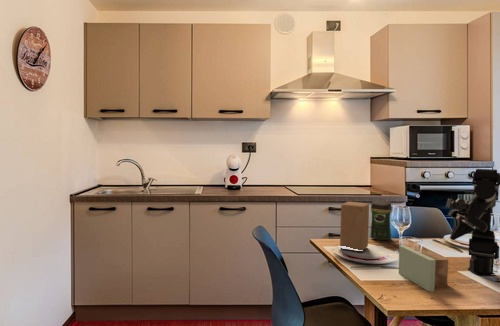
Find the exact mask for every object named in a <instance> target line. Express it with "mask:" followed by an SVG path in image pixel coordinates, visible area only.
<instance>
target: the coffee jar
mask: <svg viewBox="0 0 500 326" xmlns="http://www.w3.org/2000/svg"><path fill="white" fill-rule="evenodd" d="M370 211H371V223H370V230H369V231H370V232H369V233H370V234H369V237H370V238H371V239H372V240H377V241H390V240H391V238H392V230H391V215H392V214H391V213H392V211H393V210H392V203H391V202H390V201H383V200H372V202H371V204H370Z"/></svg>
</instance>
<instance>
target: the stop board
mask: <svg viewBox="0 0 500 326" xmlns="http://www.w3.org/2000/svg"><path fill="white" fill-rule="evenodd" d="M398 250H399V251H398V253H399V254H398V255H399V256H398V274H399V275H401V276H403V277H404V278H406V279H407V280H409V281H411V282H412V283H414V284H416V285H417V286H419V287H420V288H422V289H424V290H425V291H426V292H435V286H436V285H435V263H436V260H435V259H433V258H430V257H428V256H426V255H424V254H422V253H423V252H419V251H417V250H415V249H413V248H411V247H409V246H407V245H402V244H401V245H399V248H398Z"/></svg>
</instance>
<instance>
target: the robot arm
mask: <svg viewBox="0 0 500 326" xmlns="http://www.w3.org/2000/svg"><path fill="white" fill-rule="evenodd" d="M471 185H472V186H473V190H472V191H473V192H472V193H473V194H472V195H473V196H472V197H471V199H470V200H469V199H467V200H465V199H463V198H460V197H459V198H458V197H457V199H452V198H447V201H446V204H445V208H448V209H450V210H449V212H448V213H447V214H448V215H449V216H450V217H451V218H452V220H453V222H454V225H453V227H452V231H451V234H450V237H449V239H450V240H452V241H454V240H456V239H459V238H462V237H463V236H466V235H467V234H469V233H471V238H469V239H468V256H470V258H469V267H467V270H468V271H469V272H472V273H474V275H477V276H492V275H491V274H496V273H495V272H494V260H497V259H499V258H500V246H499V244H498V241H496V235H495V232H494V230H491V217H492V209H494V208H495V207H496V206H497V205H496V204H497V202H498V201H499V193H500V192H499V191H500V190H499V188H500V172H498V169H494V168H493V169H492V168H490V169H489V168H476V169H475V171H473V173H472V182H471Z"/></svg>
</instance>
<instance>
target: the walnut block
mask: <svg viewBox="0 0 500 326" xmlns="http://www.w3.org/2000/svg"><path fill="white" fill-rule="evenodd" d="M421 253H422V254H424V255H426V256H428V257H430V258H433V259H435V260H436V263H435V286H445V285H448V275H449V274H448V273H449V272H448V271H449V259H448V258H445V257H443V256H441V255H439V254H436V253H434V252H432V251H431V252H430V251H427V252H426V251H425V252H424V251H423V252H421Z"/></svg>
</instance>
